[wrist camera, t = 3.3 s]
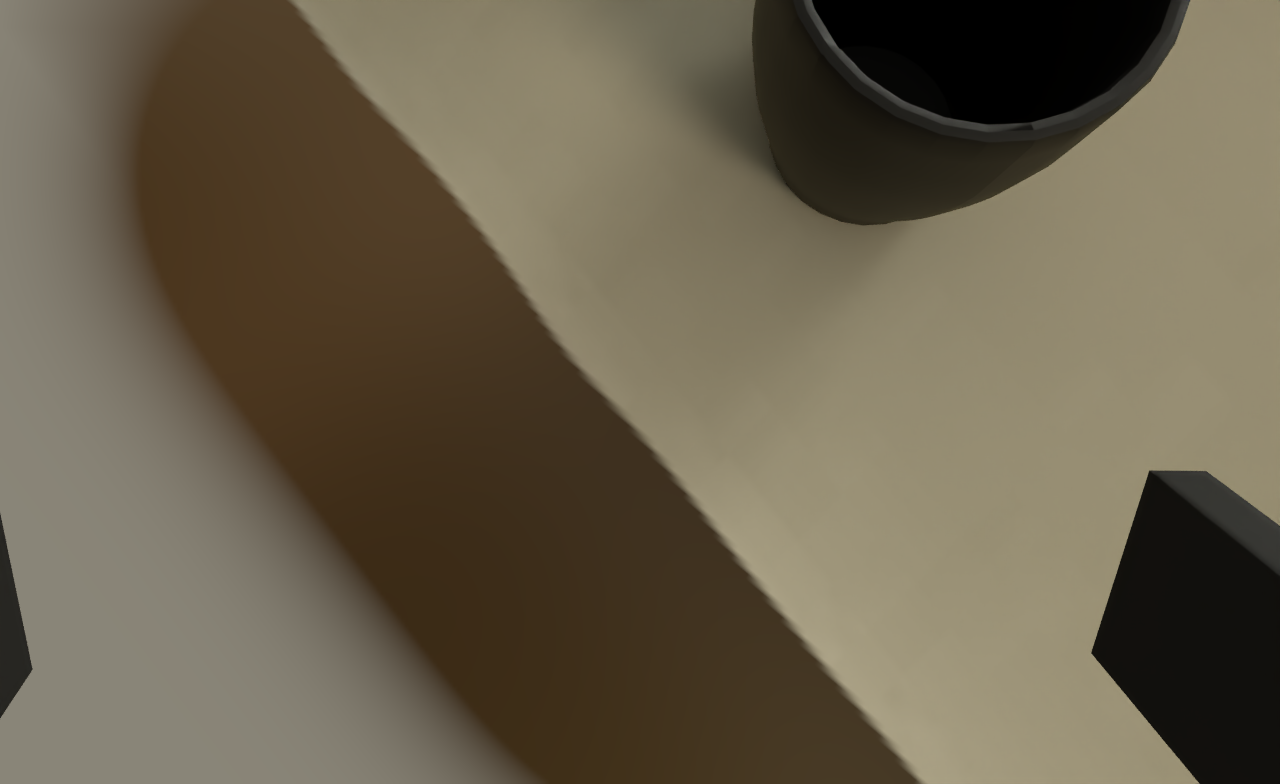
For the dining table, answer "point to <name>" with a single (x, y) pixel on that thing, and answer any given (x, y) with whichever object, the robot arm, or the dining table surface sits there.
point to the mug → (942, 93)
